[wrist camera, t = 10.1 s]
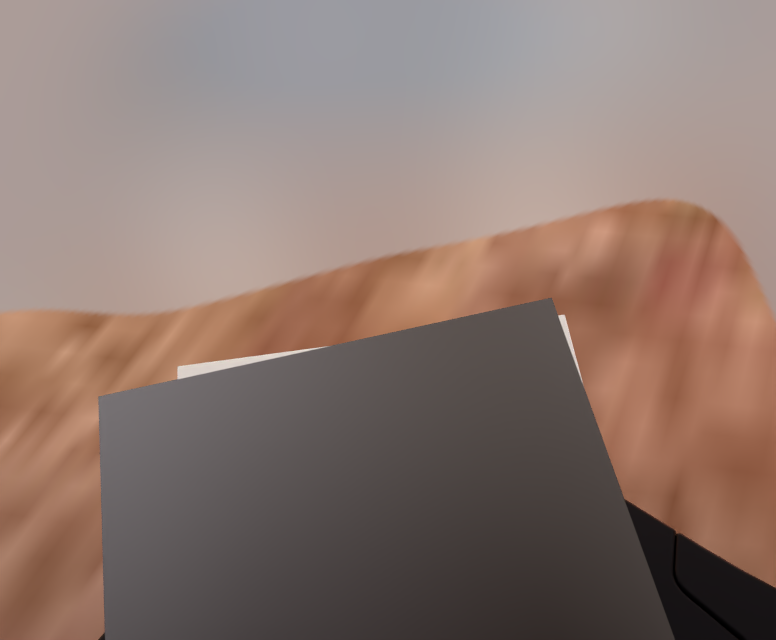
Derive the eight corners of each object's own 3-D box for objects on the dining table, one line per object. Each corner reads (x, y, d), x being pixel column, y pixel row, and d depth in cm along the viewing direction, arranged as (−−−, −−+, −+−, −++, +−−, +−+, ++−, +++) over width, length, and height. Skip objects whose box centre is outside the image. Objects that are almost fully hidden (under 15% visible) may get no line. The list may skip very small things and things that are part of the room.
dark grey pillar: (346, 640, 14) (117, 1049, 3) (322, 496, 15) (98, 395, 4) (482, 607, 14) (758, 869, 3) (447, 467, 16) (551, 297, 4)
